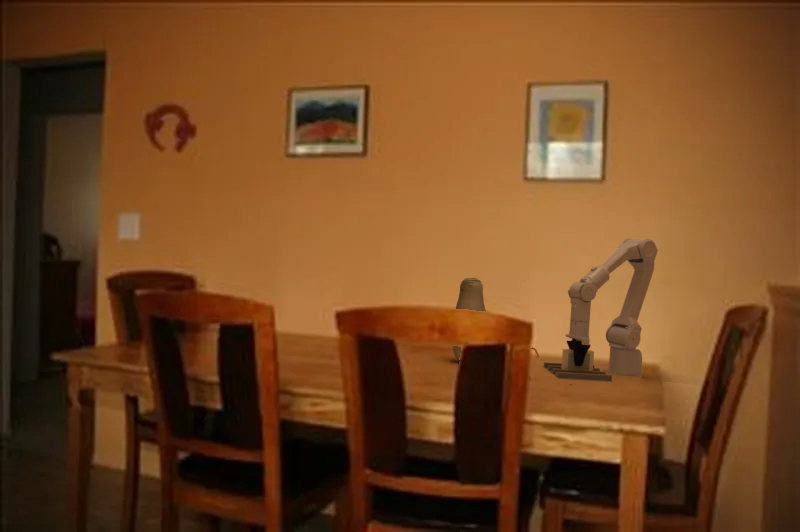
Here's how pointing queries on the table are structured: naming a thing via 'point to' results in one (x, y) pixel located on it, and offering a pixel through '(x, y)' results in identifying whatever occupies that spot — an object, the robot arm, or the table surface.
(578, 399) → the table surface
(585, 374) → the ridged panel
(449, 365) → the table surface
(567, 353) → the picture frame
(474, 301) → the grey tall rounded piece
